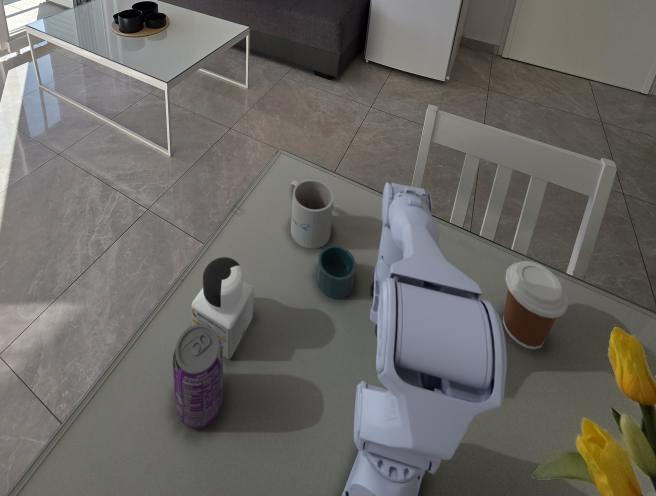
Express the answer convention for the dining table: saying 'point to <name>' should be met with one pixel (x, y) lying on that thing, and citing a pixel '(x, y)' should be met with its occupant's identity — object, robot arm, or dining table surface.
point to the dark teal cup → (336, 272)
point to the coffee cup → (532, 303)
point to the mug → (311, 213)
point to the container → (224, 303)
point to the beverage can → (198, 376)
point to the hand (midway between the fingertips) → (388, 316)
